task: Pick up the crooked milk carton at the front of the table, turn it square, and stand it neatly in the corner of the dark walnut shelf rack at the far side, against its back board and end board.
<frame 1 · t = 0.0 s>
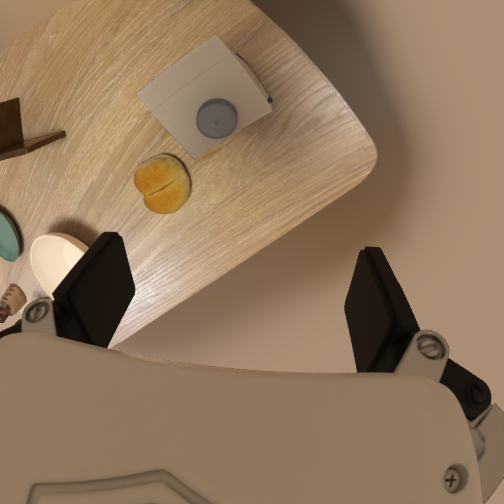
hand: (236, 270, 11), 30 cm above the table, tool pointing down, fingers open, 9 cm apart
milk carton: (237, 92, 33), on the table
shelf: (18, 147, 37), on the table
bread roll: (164, 180, 41), on the table
bowl: (82, 258, 51), on the table
saucer: (6, 230, 49), on the table
figurine: (18, 292, 61), on the table
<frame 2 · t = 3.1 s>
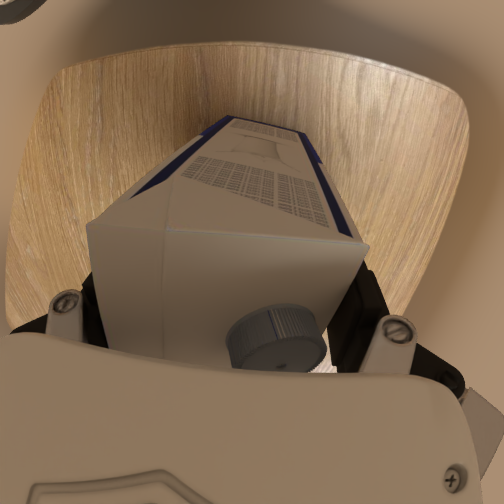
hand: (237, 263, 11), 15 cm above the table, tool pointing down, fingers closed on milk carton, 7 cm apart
milk carton: (257, 159, 24), on the table, touching gripper
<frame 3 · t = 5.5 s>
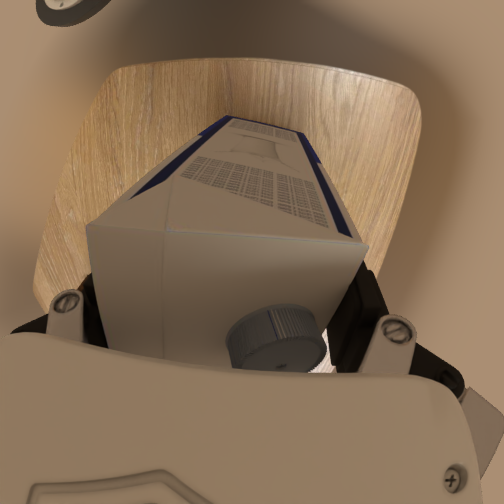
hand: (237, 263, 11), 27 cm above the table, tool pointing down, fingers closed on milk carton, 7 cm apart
milk carton: (256, 159, 24), point 12 cm above the table, touching gripper
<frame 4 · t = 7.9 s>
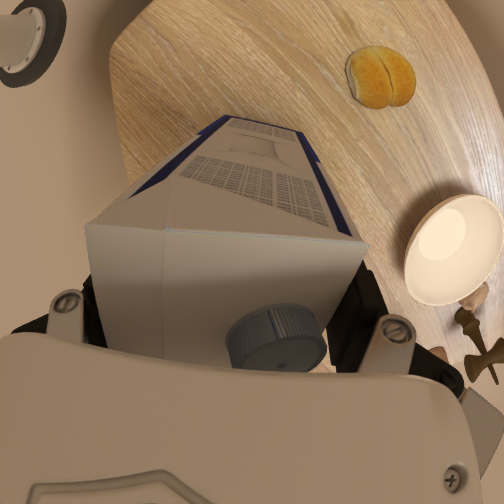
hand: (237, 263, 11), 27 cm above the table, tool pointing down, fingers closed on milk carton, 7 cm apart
milk carton: (255, 158, 24), point 12 cm above the table, touching gripper
kendama: (462, 311, 48), on the table
bread roll: (377, 78, 28), on the table
bowl: (440, 232, 39), on the table
figurine: (431, 354, 57), on the table
garlic bulb: (466, 282, 44), on the table
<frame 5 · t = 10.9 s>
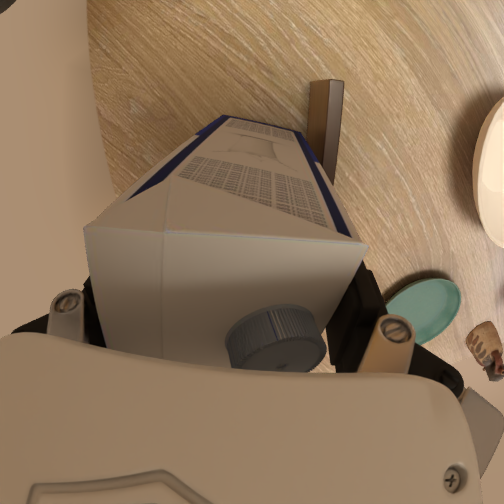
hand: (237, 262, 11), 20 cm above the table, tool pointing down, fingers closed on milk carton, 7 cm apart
milk carton: (253, 158, 24), point 4 cm above the table, touching gripper
shelf: (308, 210, 31), on the table
bowl: (498, 155, 24), on the table
saucer: (414, 305, 38), on the table
figurine: (479, 332, 41), on the table
when the fingers open (15 cm above the table, at t = 12.6 s): milk carton stays where it is, on the table.
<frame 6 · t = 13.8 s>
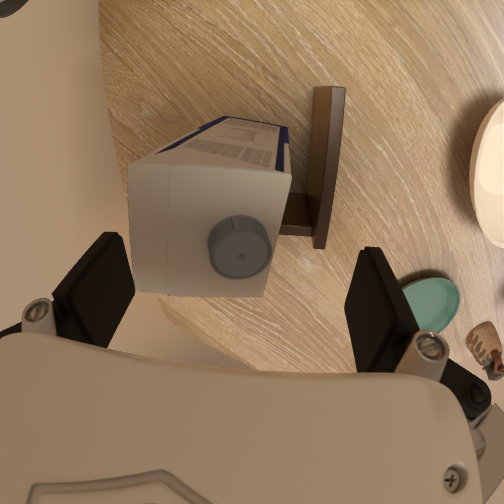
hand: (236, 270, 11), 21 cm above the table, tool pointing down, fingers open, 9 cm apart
milk carton: (250, 150, 29), on the table
shelf: (312, 210, 32), on the table
bowl: (496, 157, 25), on the table
saucer: (414, 304, 39), on the table
figurine: (478, 332, 42), on the table
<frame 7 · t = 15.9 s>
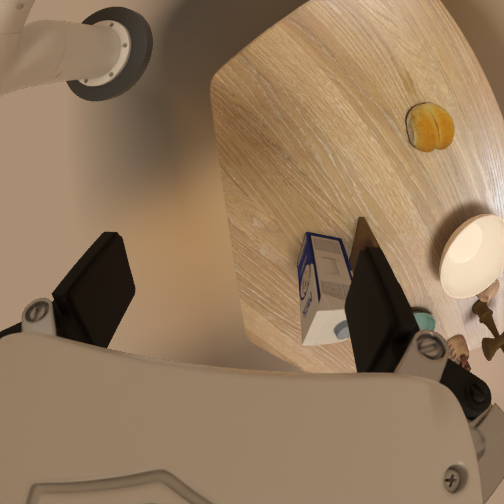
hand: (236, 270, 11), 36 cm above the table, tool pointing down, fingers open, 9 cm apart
milk carton: (319, 250, 52), on the table
shelf: (349, 280, 55), on the table
kendama: (478, 304, 56), on the table
bread roll: (426, 126, 37), on the table
bowl: (463, 241, 47), on the table
saucer: (406, 326, 61), on the table
figurine: (453, 341, 64), on the table
garlic bulb: (481, 280, 52), on the table
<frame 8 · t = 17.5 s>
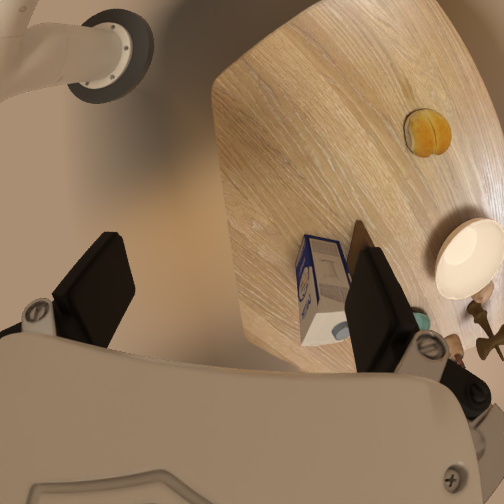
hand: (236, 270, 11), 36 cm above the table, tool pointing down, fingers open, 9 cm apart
milk carton: (316, 252, 53), on the table
shelf: (346, 281, 56), on the table
kendama: (473, 304, 58), on the table
bread roll: (424, 132, 38), on the table
bowl: (458, 244, 49), on the table
saucer: (401, 326, 63), on the table
figurine: (448, 341, 67), on the table
garlic bulb: (476, 281, 54), on the table
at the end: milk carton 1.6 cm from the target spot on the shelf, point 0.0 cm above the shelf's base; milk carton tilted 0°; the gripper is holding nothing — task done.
